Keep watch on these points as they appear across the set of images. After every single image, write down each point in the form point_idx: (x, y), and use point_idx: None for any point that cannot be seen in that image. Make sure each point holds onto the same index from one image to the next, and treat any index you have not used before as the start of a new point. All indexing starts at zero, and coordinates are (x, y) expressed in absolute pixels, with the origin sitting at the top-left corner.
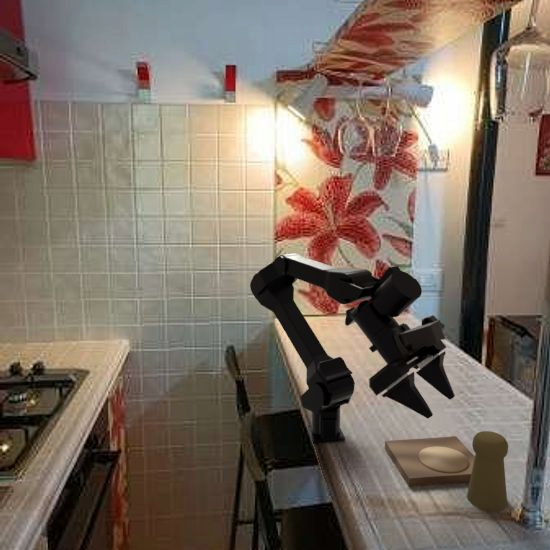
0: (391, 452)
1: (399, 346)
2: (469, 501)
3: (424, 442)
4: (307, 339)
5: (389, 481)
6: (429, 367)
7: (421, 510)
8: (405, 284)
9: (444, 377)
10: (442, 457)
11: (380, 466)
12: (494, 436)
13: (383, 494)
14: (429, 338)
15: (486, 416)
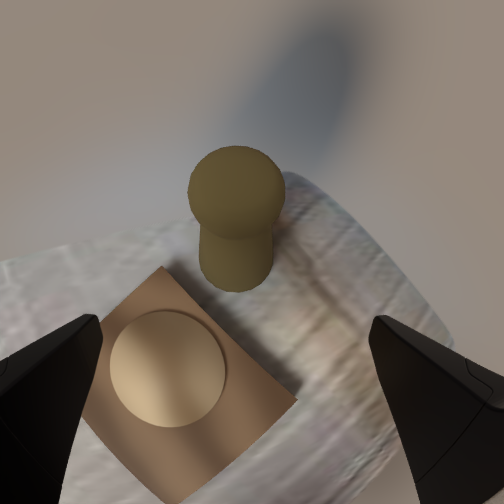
0: (206, 481)
1: None
2: (264, 279)
3: (114, 431)
4: None
5: (300, 437)
6: (2, 481)
7: (350, 338)
8: None
9: (30, 367)
10: (162, 372)
11: (255, 479)
12: (239, 161)
13: (350, 419)
14: None
15: None
